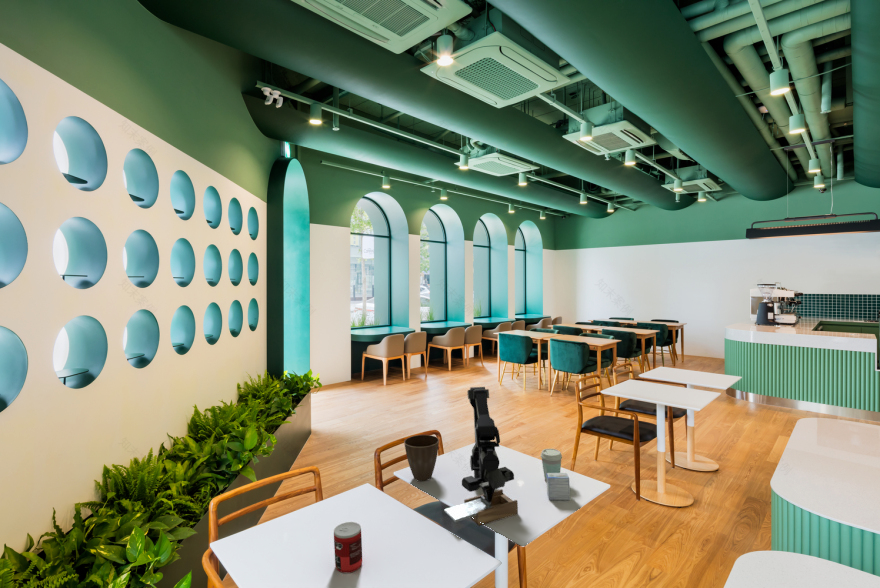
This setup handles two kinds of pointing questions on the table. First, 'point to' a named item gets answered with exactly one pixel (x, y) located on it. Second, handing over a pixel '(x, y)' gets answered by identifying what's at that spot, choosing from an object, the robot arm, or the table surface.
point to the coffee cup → (551, 461)
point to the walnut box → (495, 508)
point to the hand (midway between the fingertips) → (489, 502)
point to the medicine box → (558, 486)
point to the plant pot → (422, 455)
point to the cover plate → (468, 509)
